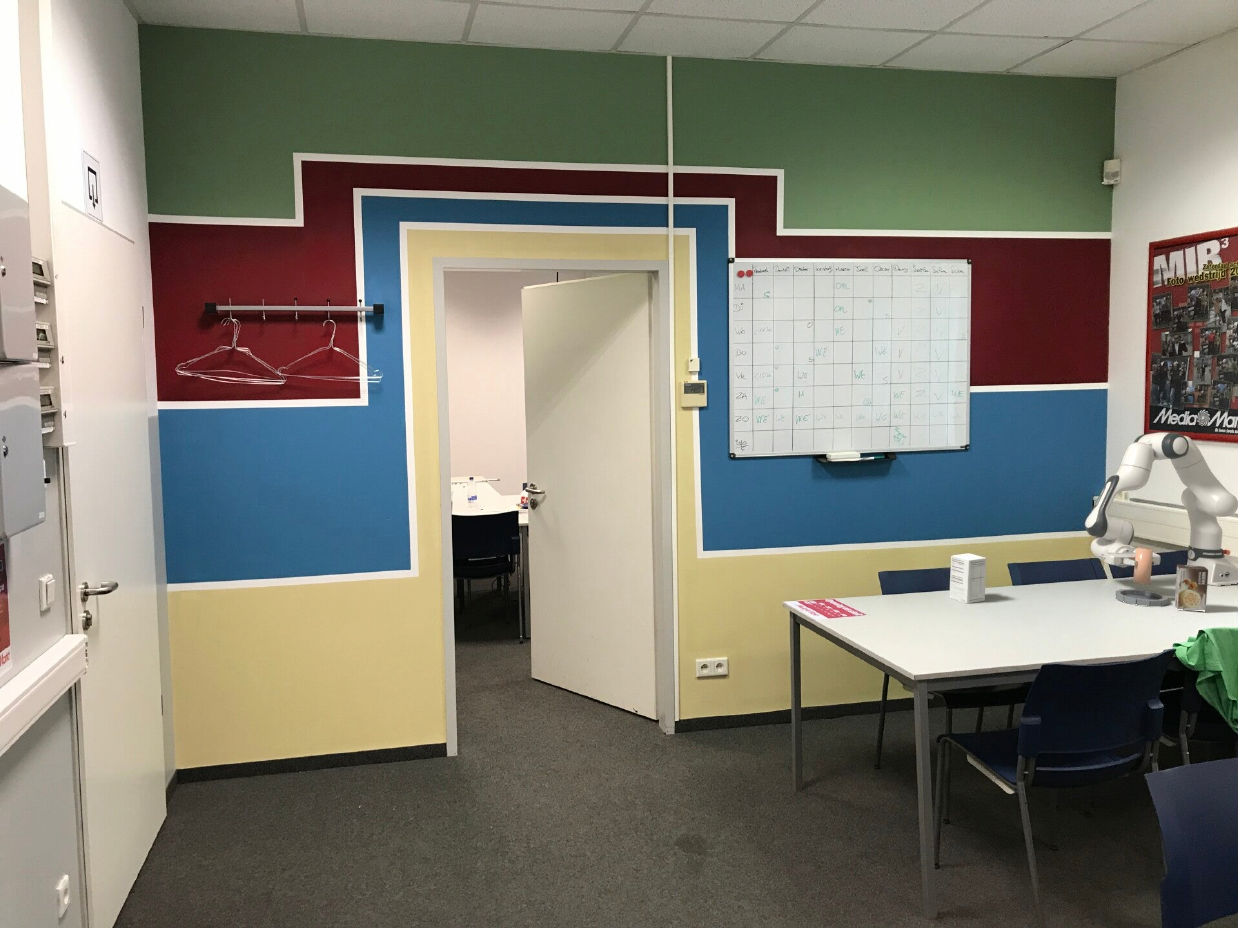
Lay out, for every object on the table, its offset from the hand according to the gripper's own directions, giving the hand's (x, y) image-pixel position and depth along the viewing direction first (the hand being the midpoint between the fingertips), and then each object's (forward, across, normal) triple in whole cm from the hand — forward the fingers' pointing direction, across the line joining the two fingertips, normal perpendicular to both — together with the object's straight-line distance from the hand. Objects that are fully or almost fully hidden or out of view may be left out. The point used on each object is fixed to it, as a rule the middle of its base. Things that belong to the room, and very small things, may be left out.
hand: (1144, 563), depth 348 cm
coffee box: (+12, +10, +15) cm, 22 cm away
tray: (-1, 0, +15) cm, 15 cm away
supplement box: (-7, -66, +15) cm, 68 cm away
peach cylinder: (-1, 0, +8) cm, 8 cm away
